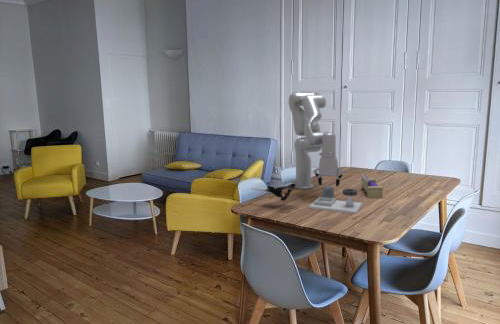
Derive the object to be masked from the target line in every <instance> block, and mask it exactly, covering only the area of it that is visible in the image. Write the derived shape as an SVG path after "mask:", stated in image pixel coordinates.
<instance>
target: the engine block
mask: <svg viewBox="0 0 500 324" xmlns="http://www.w3.org/2000/svg"><path fill="white" fill-rule="evenodd" d="M334 190H335V188H334V187H332V186H327V185H326V186H324V187H323V189H321V197H326V198H335V197H334V196H335V194H334V193H335V191H334Z"/></svg>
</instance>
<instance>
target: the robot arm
mask: <svg viewBox="0 0 500 324" xmlns="http://www.w3.org/2000/svg"><path fill="white" fill-rule="evenodd" d="M288 106H289V110H290V112H291V116H292V121H293V128H294V133H295V135H297V136H299V138H297V139H295V141H294V143H293V144H294V151H295V179H290V180H289V182H290V183H291V184H295V187H294V188H296V189H301V190H309V189H313V187H314V184H313V183H312V158H311V156H310V155H309V153H316V152H319V151H321V152H319V154H318V156H320V158H319V164H318V167H317V168H315V169H314V170H313V173H314V176H316V178H317V179H318V180H317V181H318V182H317V184H318V186H322V183H323V179H322V178H323V177H335V178H336V179H335V186H336V187H338V186H340V179H341V178H342V177H343V176H344V174H345V171H344V170H342V169H341V168H339V162H338V158H337V154H336V153H337V152H336V145H337V144H336V136H337V135H336V134H335V133H334V132H330V131H321V127H320V125H319V123H318V122H319V121H320V120H321V119H322V112H321V110H320V109H324V108H325V107H326V106H327V100H326V97H325V96H324V95H323V94H321V93H318V92H315V91H297V92H296V91H295V92H292V93H291V94H290V95H289V97H288ZM301 106H302V107H301ZM339 173H340V175H339ZM322 176H323V177H322Z"/></svg>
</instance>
